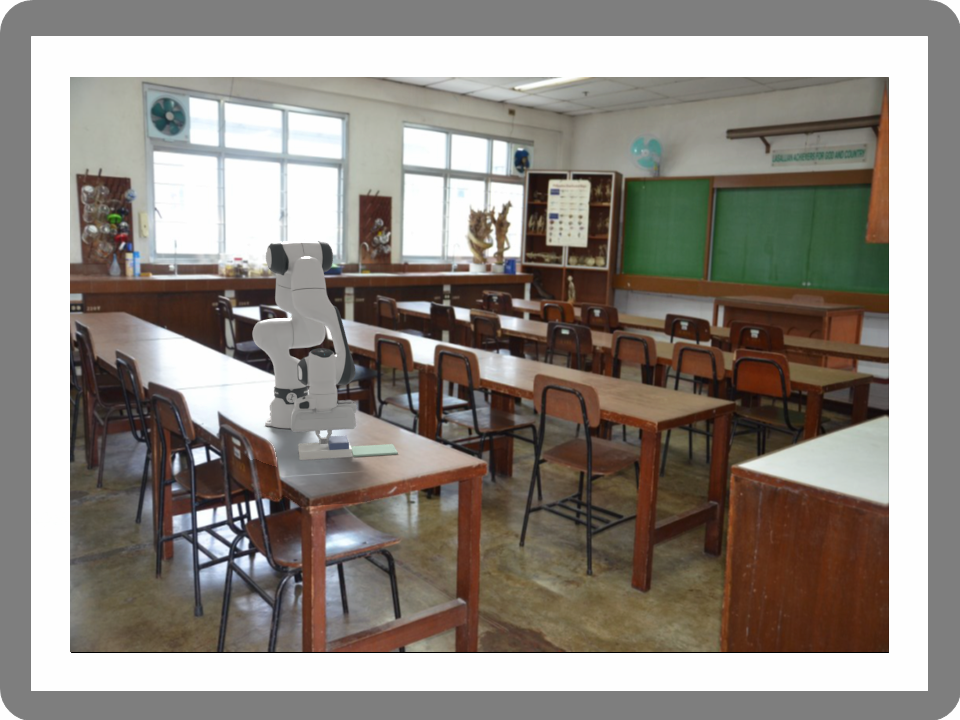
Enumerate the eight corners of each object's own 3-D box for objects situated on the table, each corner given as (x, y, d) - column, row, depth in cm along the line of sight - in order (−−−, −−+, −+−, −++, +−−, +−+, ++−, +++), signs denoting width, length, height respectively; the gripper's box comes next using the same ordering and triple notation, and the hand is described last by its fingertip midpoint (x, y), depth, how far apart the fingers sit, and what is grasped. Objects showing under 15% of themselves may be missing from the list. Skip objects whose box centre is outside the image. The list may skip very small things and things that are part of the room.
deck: (298, 451, 252) (298, 443, 252) (348, 448, 256) (348, 440, 256) (299, 460, 243) (299, 452, 242) (351, 456, 247) (351, 449, 246)
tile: (327, 442, 254) (327, 436, 253) (346, 441, 255) (346, 435, 255) (329, 450, 245) (329, 443, 245) (349, 448, 247) (349, 442, 246)
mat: (350, 448, 256) (350, 446, 256) (393, 445, 260) (393, 444, 260) (353, 456, 247) (353, 454, 247) (397, 454, 251) (397, 452, 250)
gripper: (355, 397, 252) (356, 439, 254) (289, 400, 247) (291, 442, 249) (357, 401, 246) (357, 444, 248) (290, 404, 241) (291, 448, 243)
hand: (323, 443), depth 249 cm, fingers closed
